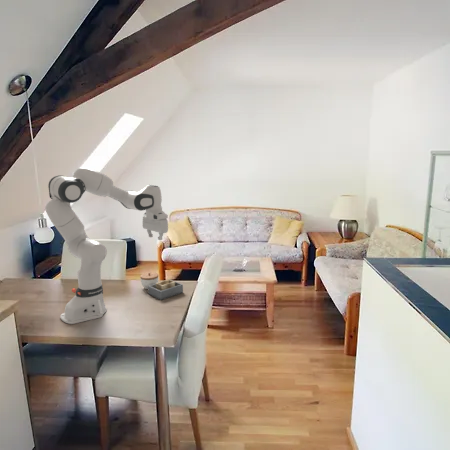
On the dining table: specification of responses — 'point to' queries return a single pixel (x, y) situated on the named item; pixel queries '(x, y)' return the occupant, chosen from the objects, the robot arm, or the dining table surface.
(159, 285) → the pine crate
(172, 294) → the grey crate
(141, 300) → the dining table surface
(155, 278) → the lidded jar
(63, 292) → the dining table surface
